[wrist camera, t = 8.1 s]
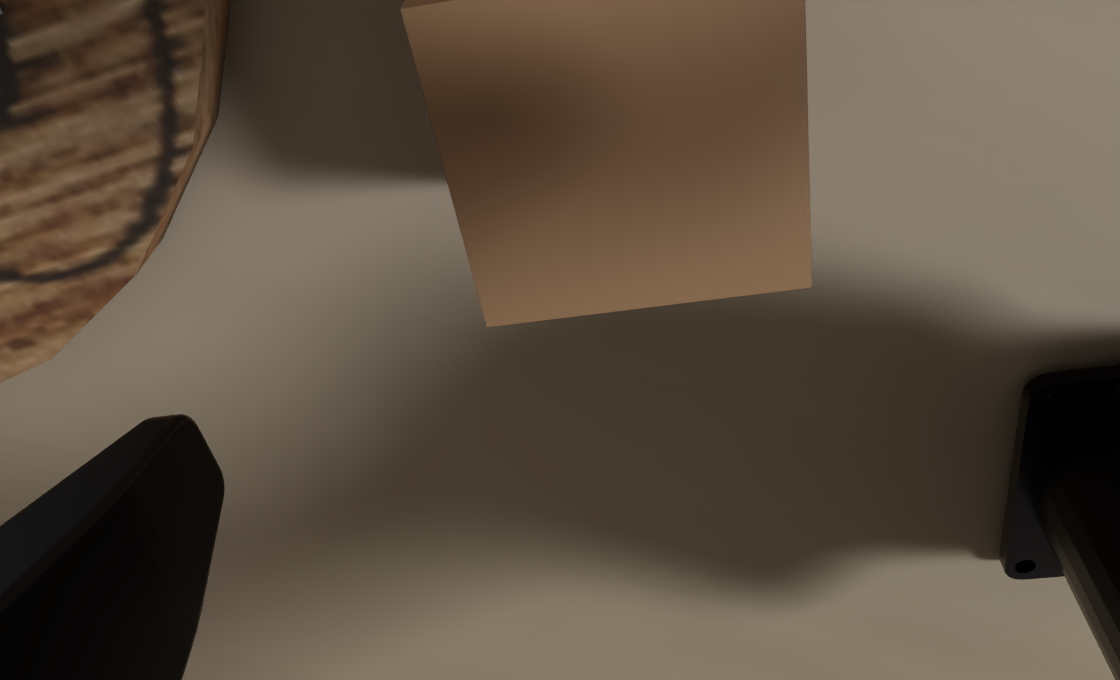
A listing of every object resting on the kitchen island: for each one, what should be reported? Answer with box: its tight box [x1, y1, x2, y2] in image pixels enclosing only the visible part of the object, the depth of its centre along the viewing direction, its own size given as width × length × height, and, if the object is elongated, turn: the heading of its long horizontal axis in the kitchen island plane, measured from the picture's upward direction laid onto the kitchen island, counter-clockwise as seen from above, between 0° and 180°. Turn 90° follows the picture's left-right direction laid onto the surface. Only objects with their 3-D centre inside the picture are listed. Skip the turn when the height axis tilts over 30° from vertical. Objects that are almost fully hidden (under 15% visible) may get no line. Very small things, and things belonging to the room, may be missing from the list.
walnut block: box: [400, 0, 812, 327], centre depth 15 cm, size 5×5×5 cm
